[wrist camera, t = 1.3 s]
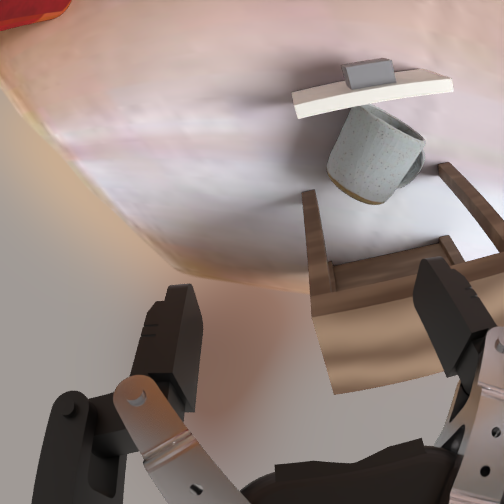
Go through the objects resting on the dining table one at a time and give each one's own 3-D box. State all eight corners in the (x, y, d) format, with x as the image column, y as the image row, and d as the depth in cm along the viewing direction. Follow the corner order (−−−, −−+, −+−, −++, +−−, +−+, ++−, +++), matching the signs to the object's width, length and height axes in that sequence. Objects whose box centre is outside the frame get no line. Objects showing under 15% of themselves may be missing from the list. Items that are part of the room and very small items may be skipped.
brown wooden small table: (301, 192, 36) (311, 317, 22) (449, 162, 31) (535, 262, 17) (322, 271, 42) (334, 394, 28) (448, 244, 38) (502, 352, 24)
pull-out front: (285, 73, 28) (286, 82, 22) (419, 50, 24) (448, 56, 19) (294, 103, 29) (298, 119, 24) (425, 79, 26) (453, 91, 21)
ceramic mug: (317, 161, 33) (327, 195, 27) (347, 93, 28) (367, 110, 22) (399, 194, 35) (421, 232, 29) (431, 135, 30) (464, 163, 24)
